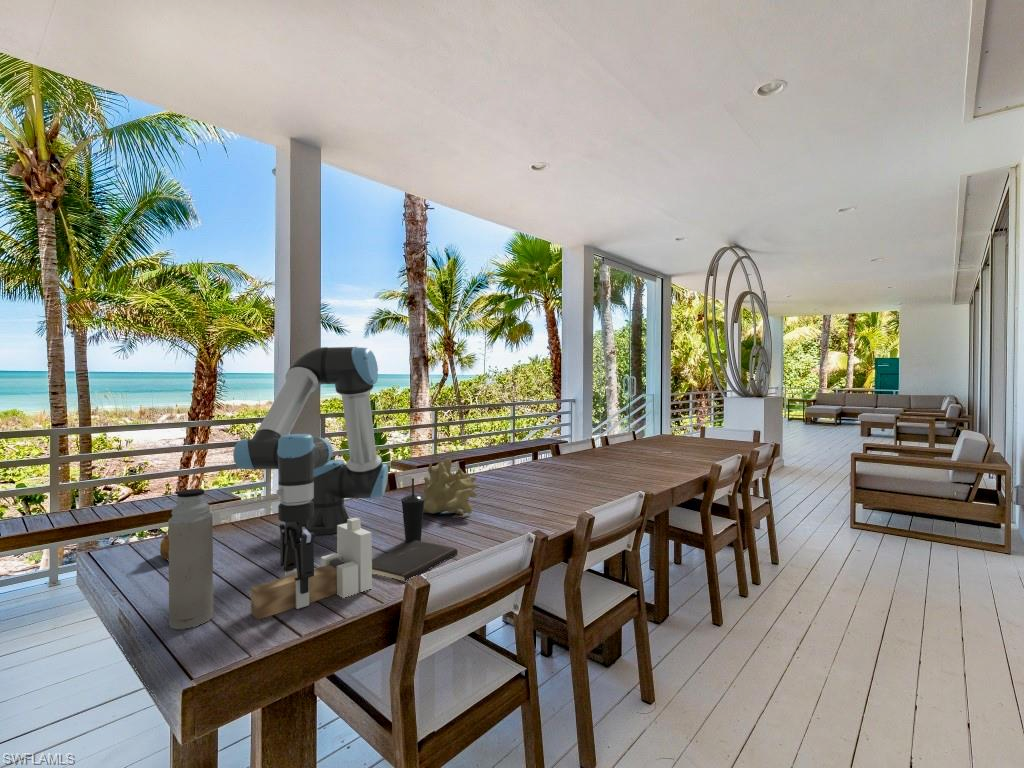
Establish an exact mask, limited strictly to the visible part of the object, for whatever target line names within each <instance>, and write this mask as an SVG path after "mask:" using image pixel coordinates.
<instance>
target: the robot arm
mask: <svg viewBox="0 0 1024 768" xmlns="http://www.w3.org/2000/svg"><path fill="white" fill-rule="evenodd" d="M378 371H379V368H378V363H377V359H376V356H375V354H374V352H373V351H372V350H371V349H370V348H368V347H358V346H340V347H339V346H337V347H336V346H334V347H328V346H323V347H321V346H320V347H318V348H314V349H311V350H310V351H307V352H306V353H304V354H303V355H301V356H300V357H299V358H297V359H296V360H295V361H294V362H292V364H291V365H290V367H289V368H288V370H287V372H286V373H285V379H284V380H285V381H284V384H283V385H282V388H281V389H280V390H279V393H278V394H277V395H276V397H275V399H274V401H273V403H272V404H271V406H270V408H269V409H268V411H267V412H266V414H265V416H264V418H263V420H262V422H261V423H260V425H259V427H258V428H257V430H256V431H255V433H254V435H253V437H252V438H243V439H240V440H239V441H237V443H236V444H235V446H234V449H233V453H232V455H233V457H232V458H233V461H234V463H235V466H236V467H237V468H239V469H242V470H251V471H253V470H254V471H257V470H277V473H278V476H277V477H278V481H277V482H278V483H277V484H278V485H277V487H278V488H277V490H276V494H277V496H278V502H279V504H278V511H277V512H278V513H277V514H278V517H277V518H278V521H280V522H283V523H281V524H279V531H280V555H279V556H280V558H279V559H280V564H279V565H280V567H283V571H284V577H288V576H291V575H295V574H297V575H298V577H297V578H294V579H295V581H296V608H295V609H297V610H299V609H302V608H304V607H308V606H310V603H309V577H312V576H314V569H315V556H314V553H315V551H314V541H315V536H324V535H331V534H333V535H334V534H337V525H341V524H345V523H347V519H350V518H349V514H348V511H347V510H346V506H345V499H370V500H371V499H379V498H381V497H382V496H384V494H385V492H386V488H387V484H388V479H389V478H388V477H389V466H388V464H386V463H383V461H382V460H383V459H382V457H381V456H380V455H379V454H377V450H376V440H375V432H374V431H375V430H374V422H373V414H372V413H373V412H372V406H371V398H370V397H371V395H370V392H371V391H373V389H374V385H375V384H376V383H377V382H378V378H379V373H378ZM321 385H334V387H335V388H334V389H335V392H336V393H337V394H338V395H340V396H341V400H342V402H341V403H342V407H343V408H342V409H343V416H344V424H345V429H346V436H347V437H346V438H347V445H348V453H349V458H348V460H347V461H346V464H345V461H344V460H343V459H332V458H333V452H334V449H333V446H332V444H331V442H329V441H328V439H326V438H324V437H313V435H312V434H309V433H293V434H292V433H291V432H292V429H293V428H294V426H295V424H296V422H297V420H298V418H299V416H300V414H301V412H302V410H303V409H304V406H305V405H306V403H307V400H308V399H309V397H310V395H311V393H313V392H314V391H316V390H317V389H318V387H319V386H321ZM331 459H332V460H331Z"/></svg>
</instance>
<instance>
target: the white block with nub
mask: <svg viewBox="0 0 1024 768" xmlns="http://www.w3.org/2000/svg"><path fill="white" fill-rule="evenodd" d="M361 519H362V518H359V517H352V518H349V519H347V523H345V524H341V525H337V533H336V537H337V538H336V548H337V549H336V550H337V551H336V552H337V553H336V552H333V553H331V554H327V555H322V556H321V557H320V567H323V566H326V565H330V561H331V560H335V559H339V560H341V561H343V562H344V564H341V565H338V566H337V594H336V595H337V596H338V595H339V596H340V597H339V596H338V597H339V598H341V597H342V598H341V599H343V598H344V599H346V598H345V597H347V598H349V597H352V596H355V595H357V593H358V594H359V593H360V592H363V591H365V592H367V591H366V590H368V591H370V590H369V589H371V590H373V574H372V559H373V549H372V548H373V545H372V544H373V543H372V542H373V540H372V539H373V538H372V537H373V534H372V533H373V532H371V531H369V530H367V529H364V528H362V527H361V522H362V521H361ZM363 593H364V592H363ZM354 594H355V595H354ZM351 595H352V596H351ZM348 596H349V597H348Z"/></svg>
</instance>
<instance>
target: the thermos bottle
mask: <svg viewBox="0 0 1024 768" xmlns="http://www.w3.org/2000/svg"><path fill="white" fill-rule="evenodd" d="M176 494H177V499H176V505H175V506H173V507H172V509H171V513H170V514H171V515H172V517H170V518H168V521H167V522H168V524H167V525H168V527H167V528H168V529H167V531H168V535H167V536H168V543H169V561H168V607H169V608H168V611H169V612H168V613H169V615H168V616H169V617H168V619H169V623H168V625H170V626H169V627H170V628H171V629H173V628H174V629H173V630H186V629H185V628H189V629H191V628H190V627H193V628H195V627H194V626H197V625H200V624H202V625H204V624H203V623H205V622H207V621H208V622H210V621H211V620H212V619H213V618H214V581H213V580H214V577H213V575H214V542H213V541H214V538H213V536H214V531H213V529H214V528H213V525H214V523H213V522H214V521H213V513H212V512H210V508H211V507H210V505H209V503H207V502H205V496H204V494H205V489H203V488H190V489H184V490H180V491H177V493H176ZM212 617H213V618H212ZM211 618H212V619H211ZM210 619H211V620H210ZM209 620H210V621H209ZM208 622H207V623H208ZM205 624H206V623H205ZM200 626H201V625H200ZM197 627H198V626H197Z"/></svg>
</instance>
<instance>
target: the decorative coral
mask: <svg viewBox="0 0 1024 768" xmlns="http://www.w3.org/2000/svg"><path fill="white" fill-rule="evenodd" d="M452 459H453V458H452V457H448V458H446V459H445V460H444V461H439V462H438V463H437V464H436V465H435V466H434V467H433V464H432V463H429V464H428V465H429V466H428V468H427V471H428V474H429V477H428V476H425V477H424V478H423V481H424V486H423V487H424V488H423V493H422V495H421V496H423V497H425V500H424V510H423V514H436V513H441V512H442V513H443V512H447V513H454V514H457V515H461V516H463V515H464V514H465V513H466V514H472V513H473V506H472V505H471V504H470V502H469V499H470V498H474V499H475V498H476V497H477V493H476V492H475V491H474V489H477V488H478V487H479V484H477V483H474V482H475V481H476V480H477V479H478V478H477V477H476V476H472V477H470V476H471V474H470V473H468V472H464V471H463V469H461V468H458V470H457V472H454V473H453V472H452V471H451V468H452Z"/></svg>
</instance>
